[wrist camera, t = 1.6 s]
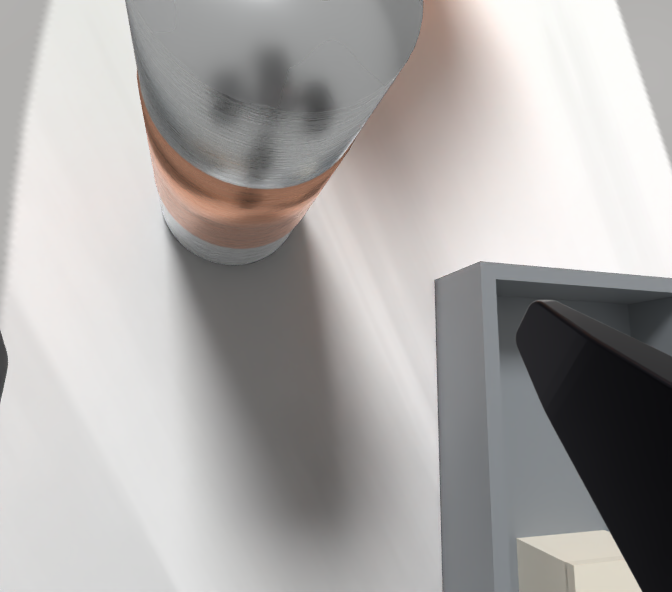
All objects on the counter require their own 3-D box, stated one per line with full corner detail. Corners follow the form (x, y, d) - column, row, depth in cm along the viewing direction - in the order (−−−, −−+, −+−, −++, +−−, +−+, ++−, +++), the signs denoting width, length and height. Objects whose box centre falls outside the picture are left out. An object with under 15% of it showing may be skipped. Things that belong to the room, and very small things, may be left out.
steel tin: (296, 271, 22) (428, 134, 10) (153, 260, 20) (97, 80, 8) (299, 146, 23) (422, -118, 11) (164, 126, 21) (128, -213, 9)
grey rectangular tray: (665, 694, 24) (755, 754, 20) (447, 742, 21) (504, 825, 17) (627, 294, 27) (697, 280, 24) (434, 280, 24) (480, 261, 20)
